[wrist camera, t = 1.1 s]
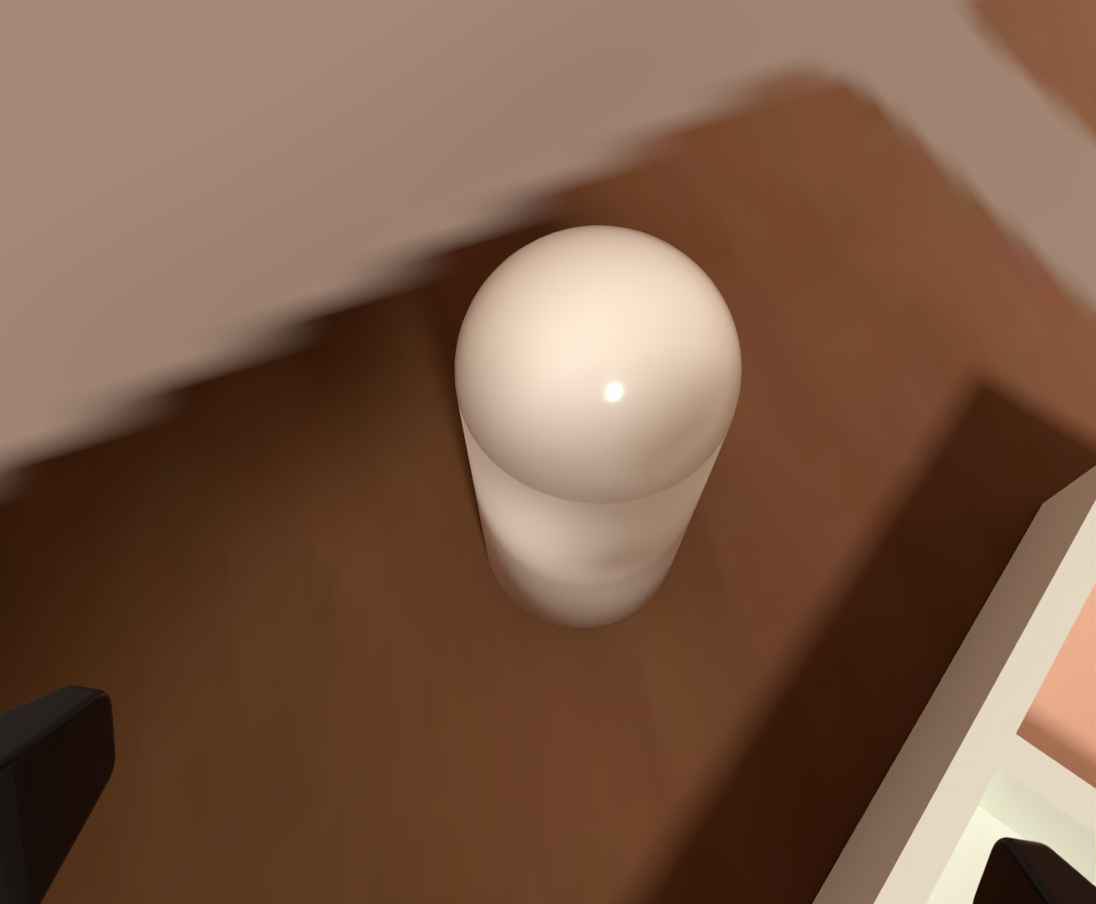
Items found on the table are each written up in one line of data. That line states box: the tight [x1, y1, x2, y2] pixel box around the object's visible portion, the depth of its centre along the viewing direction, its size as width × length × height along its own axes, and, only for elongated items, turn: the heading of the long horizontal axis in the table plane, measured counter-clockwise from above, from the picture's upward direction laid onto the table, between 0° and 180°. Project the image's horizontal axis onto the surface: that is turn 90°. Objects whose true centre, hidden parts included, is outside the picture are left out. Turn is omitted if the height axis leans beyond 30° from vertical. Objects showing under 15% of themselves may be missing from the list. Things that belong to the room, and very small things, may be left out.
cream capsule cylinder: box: [455, 225, 741, 628], centre depth 19 cm, size 5×5×12 cm
